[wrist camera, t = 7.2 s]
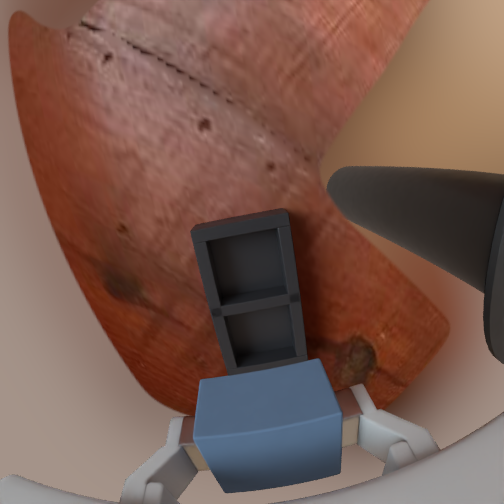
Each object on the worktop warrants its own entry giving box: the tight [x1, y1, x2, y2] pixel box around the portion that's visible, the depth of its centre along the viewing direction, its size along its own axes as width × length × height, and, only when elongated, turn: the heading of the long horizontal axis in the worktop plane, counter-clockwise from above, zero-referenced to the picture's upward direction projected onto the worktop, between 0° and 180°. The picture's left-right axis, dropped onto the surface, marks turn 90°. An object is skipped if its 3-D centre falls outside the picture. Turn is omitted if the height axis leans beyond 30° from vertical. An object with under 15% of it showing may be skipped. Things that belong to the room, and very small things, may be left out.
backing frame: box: [190, 208, 308, 376], centre depth 25 cm, size 8×14×3 cm, turn 10°
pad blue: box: [193, 358, 343, 493], centre depth 9 cm, size 4×4×3 cm
